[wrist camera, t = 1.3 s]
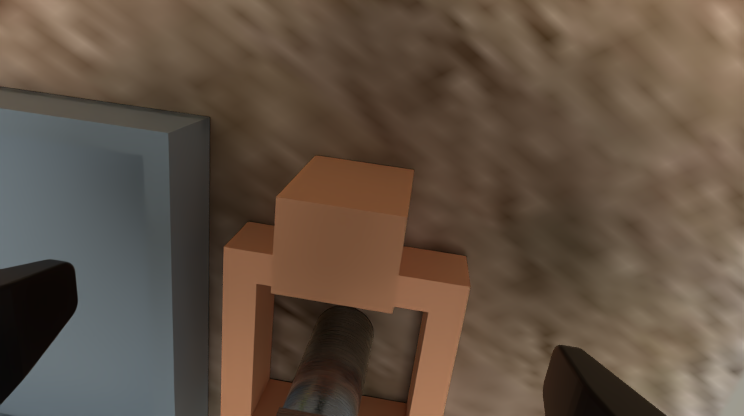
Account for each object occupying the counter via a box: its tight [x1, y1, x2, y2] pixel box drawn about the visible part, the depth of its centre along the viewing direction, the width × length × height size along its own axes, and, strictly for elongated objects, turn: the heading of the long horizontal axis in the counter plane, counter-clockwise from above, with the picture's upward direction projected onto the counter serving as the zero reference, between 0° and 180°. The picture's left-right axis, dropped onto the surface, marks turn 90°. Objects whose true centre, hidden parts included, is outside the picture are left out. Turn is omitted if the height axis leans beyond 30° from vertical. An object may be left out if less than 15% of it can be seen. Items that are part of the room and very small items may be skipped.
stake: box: [276, 306, 374, 416], centre depth 14 cm, size 4×2×7 cm, turn 173°
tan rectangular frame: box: [221, 155, 470, 416], centre depth 15 cm, size 10×7×4 cm
